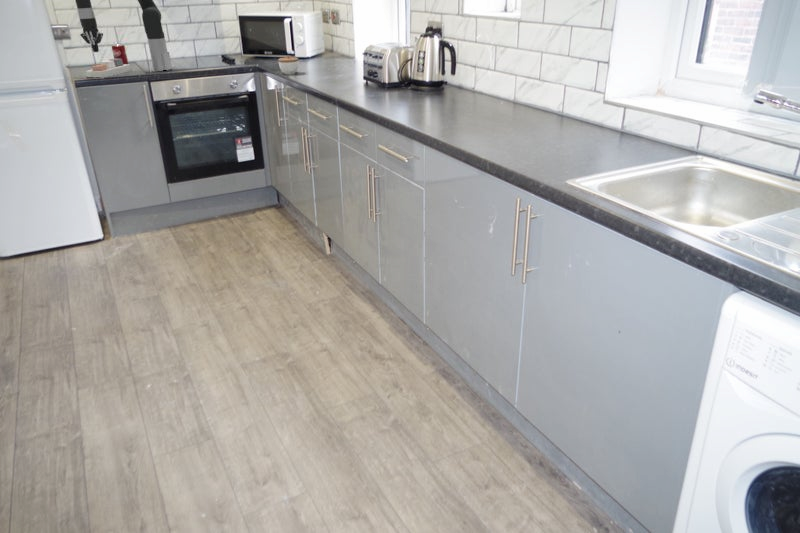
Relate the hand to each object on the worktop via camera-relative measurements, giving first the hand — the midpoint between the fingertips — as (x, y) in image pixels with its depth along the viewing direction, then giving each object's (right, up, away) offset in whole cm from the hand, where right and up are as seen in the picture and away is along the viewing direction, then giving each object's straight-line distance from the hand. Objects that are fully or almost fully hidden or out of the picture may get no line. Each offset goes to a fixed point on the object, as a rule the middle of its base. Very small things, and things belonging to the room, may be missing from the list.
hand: (96, 51), depth 323 cm
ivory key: (+1, -5, +11) cm, 12 cm away
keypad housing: (+1, -8, +12) cm, 15 cm away
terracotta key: (0, -10, +5) cm, 11 cm away
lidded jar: (+104, -11, +2) cm, 105 cm away
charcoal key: (+3, -2, +17) cm, 17 cm away
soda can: (-4, +5, +38) cm, 39 cm away
